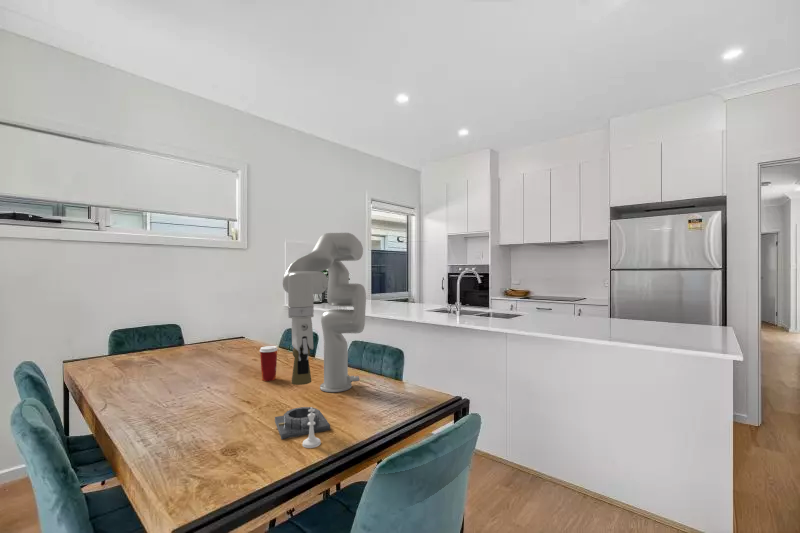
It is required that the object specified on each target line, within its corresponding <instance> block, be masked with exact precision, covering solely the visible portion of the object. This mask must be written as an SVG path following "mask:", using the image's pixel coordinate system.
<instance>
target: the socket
mask: <svg viewBox="0 0 800 533" xmlns="http://www.w3.org/2000/svg"><path fill="white" fill-rule="evenodd" d="M311 407H312V406H303V407H301V406H300V407H295V408H291V409H288V410H287V411H286V412H285V413H284V414H283V415H280V416H279V415H278V416H274V423H275V426H276V429H277V430H278V433H279V436H280V438H281V440H286V439H292V438H296V437H301V436H307V435H309V429H310V425H308V422H310V421H309V418H308V414H310V413H311V412H308V410H311ZM314 409H315V411H314V412H312V413H314V414H315V417H314V422H315V425H313V427H314V434H317V433H322V432H328V431H331V424H330V423H329V421H328V419H326V417H325V416H324V414H323V413H322V411H321V410H320V409H318V408H315V407H312V410H314Z"/></svg>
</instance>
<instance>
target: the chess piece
mask: <svg viewBox="0 0 800 533" xmlns="http://www.w3.org/2000/svg"><path fill="white" fill-rule="evenodd" d="M310 407H311V410H308V412H311V413H310V414H308V418H309V421H310V422H308V425H310V429H309V434H308V436H307V438H306V439H303V441H302V445H301V446H302V447H303V448H306V449H313V448H317V447H319V446H320V445H321V443H322V441H321V439H320V438H319V437H317V436H315V433H314V427H313V425H315V422H314V417H315V414H314V413H312V412H314V411H315V409H314V410H312V408H313V406H310Z"/></svg>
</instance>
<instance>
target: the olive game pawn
mask: <svg viewBox="0 0 800 533" xmlns="http://www.w3.org/2000/svg"><path fill="white" fill-rule="evenodd" d="M300 350H303V348H300ZM301 353H303V352H301ZM310 354H311V350H310V349H309V348H308V357H309V356H310ZM292 355H293V356H292V357H293V359H294V360H293V367H292V368H293V369H292V376H291V384H292V385H296V386H304V385H308V384H311V383H312V381H313V380H312V376H311V370H310V366H309V372H308V373H307V374H298V373H297V361H299V360H298V351H297V350H296V349H295V348H294V347H293V349H292ZM309 360H310V359H308V363H309V364H310V361H309Z"/></svg>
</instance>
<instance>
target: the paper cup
mask: <svg viewBox="0 0 800 533" xmlns="http://www.w3.org/2000/svg"><path fill="white" fill-rule="evenodd" d="M278 350H279V349H278V346H275V345H267V346H266V345H265V346H261V347H260V349H259V353H260V354H259V355H260V367H261V368H260V369H261V380H262V381H263V382H272V381H275V380H276V377H277V359H278Z"/></svg>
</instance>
